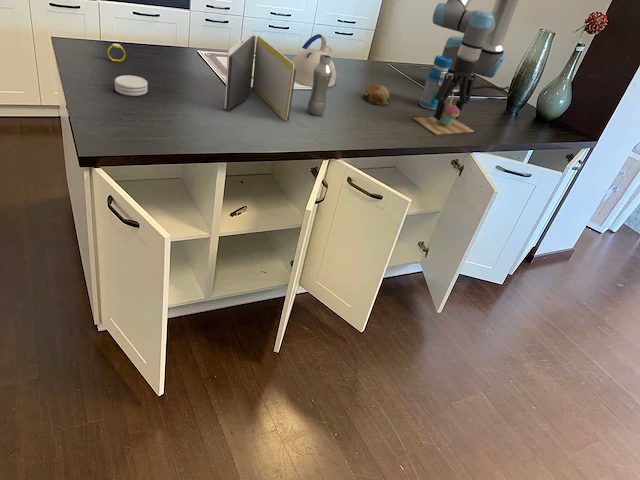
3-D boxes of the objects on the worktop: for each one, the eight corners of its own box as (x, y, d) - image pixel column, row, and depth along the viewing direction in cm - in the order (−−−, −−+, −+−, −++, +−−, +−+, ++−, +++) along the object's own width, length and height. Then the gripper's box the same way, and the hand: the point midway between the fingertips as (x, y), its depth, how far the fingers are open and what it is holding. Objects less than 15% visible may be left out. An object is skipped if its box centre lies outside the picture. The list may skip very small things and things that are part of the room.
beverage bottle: (417, 106, 198) (432, 57, 186) (420, 100, 204) (435, 53, 193) (436, 112, 196) (453, 63, 185) (439, 106, 203) (455, 58, 191)
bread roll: (379, 114, 191) (393, 99, 187) (360, 98, 189) (373, 82, 185) (382, 107, 199) (394, 92, 195) (363, 91, 197) (375, 76, 193)
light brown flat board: (449, 117, 194) (450, 116, 193) (473, 132, 185) (474, 130, 184) (412, 119, 184) (412, 117, 184) (435, 135, 175) (436, 133, 174)
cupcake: (451, 128, 179) (462, 97, 172) (430, 120, 181) (440, 89, 175) (458, 122, 185) (469, 92, 178) (438, 115, 188) (448, 85, 181)
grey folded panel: (296, 121, 161) (305, 63, 149) (235, 124, 150) (240, 61, 139) (255, 83, 184) (260, 30, 172) (200, 83, 173) (202, 27, 162)
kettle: (344, 82, 205) (353, 39, 195) (318, 91, 190) (327, 44, 179) (305, 67, 212) (312, 25, 202) (278, 75, 197) (284, 29, 186)
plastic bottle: (326, 112, 173) (337, 56, 161) (320, 118, 167) (331, 61, 156) (310, 107, 174) (320, 51, 162) (303, 113, 168) (313, 55, 157)
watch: (108, 62, 174) (107, 45, 170) (107, 59, 176) (106, 42, 172) (126, 62, 176) (125, 46, 173) (125, 60, 178) (124, 43, 175)
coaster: (152, 89, 161) (152, 79, 159) (140, 99, 152) (139, 88, 150) (123, 83, 160) (122, 72, 158) (109, 92, 152) (108, 81, 150)
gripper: (480, 55, 177) (459, 113, 190) (438, 53, 167) (418, 115, 180) (494, 62, 172) (472, 121, 185) (452, 61, 162) (431, 123, 175)
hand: (445, 118), depth 182 cm, fingers closed on cupcake, 8 cm apart
